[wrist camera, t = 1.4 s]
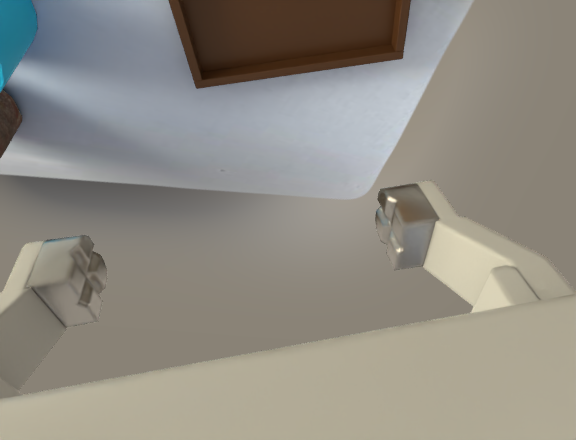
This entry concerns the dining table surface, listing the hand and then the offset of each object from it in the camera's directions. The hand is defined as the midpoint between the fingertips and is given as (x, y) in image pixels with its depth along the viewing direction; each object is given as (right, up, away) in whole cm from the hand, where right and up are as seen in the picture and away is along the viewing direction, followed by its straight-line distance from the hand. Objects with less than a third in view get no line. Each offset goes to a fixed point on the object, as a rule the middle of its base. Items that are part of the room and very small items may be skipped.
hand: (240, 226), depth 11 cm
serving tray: (+2, +20, +22) cm, 29 cm away
